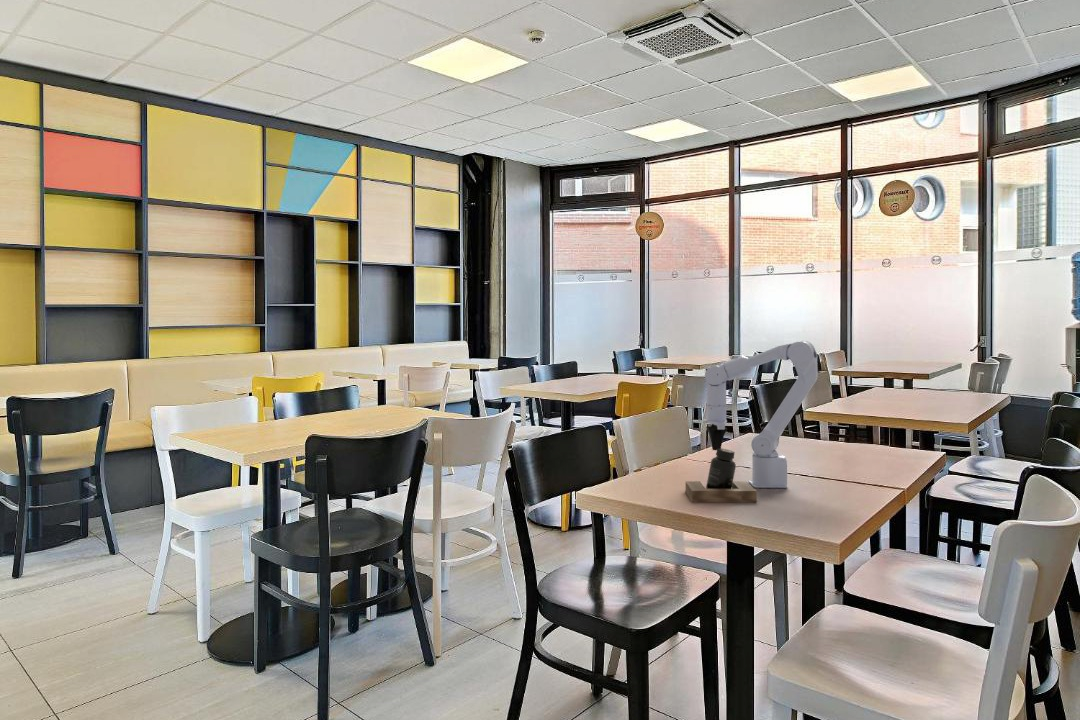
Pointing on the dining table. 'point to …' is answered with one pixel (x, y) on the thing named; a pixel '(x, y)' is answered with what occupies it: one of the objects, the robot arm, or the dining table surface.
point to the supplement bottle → (721, 470)
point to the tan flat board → (721, 493)
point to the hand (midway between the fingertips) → (716, 449)
